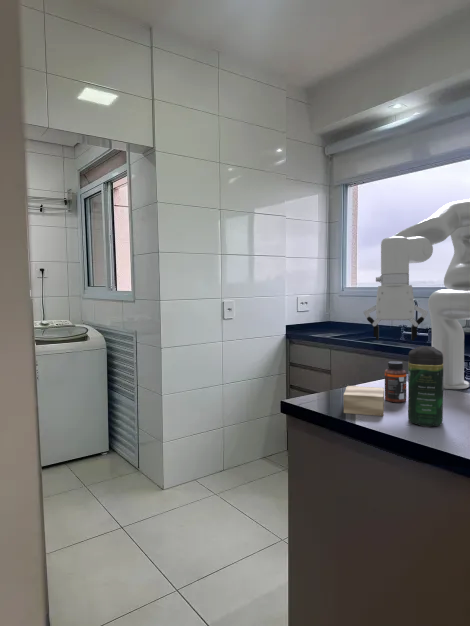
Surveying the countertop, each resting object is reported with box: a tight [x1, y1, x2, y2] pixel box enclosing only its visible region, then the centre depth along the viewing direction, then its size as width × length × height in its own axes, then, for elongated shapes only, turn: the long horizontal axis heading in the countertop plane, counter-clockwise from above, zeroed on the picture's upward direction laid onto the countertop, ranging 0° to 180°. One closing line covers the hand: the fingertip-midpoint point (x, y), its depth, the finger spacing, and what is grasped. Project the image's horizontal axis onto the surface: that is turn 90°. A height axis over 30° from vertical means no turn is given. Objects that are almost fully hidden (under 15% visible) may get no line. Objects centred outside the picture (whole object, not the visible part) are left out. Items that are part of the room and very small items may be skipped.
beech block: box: [343, 385, 385, 417], centre depth 115 cm, size 10×10×5 cm
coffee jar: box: [407, 345, 444, 428], centre depth 103 cm, size 10×8×19 cm
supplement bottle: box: [384, 360, 407, 404], centre depth 122 cm, size 6×6×11 cm
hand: (394, 339), depth 121 cm, fingers open, 9 cm apart
